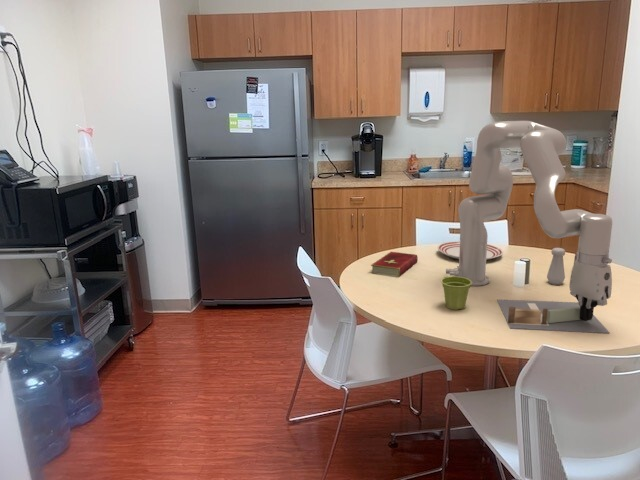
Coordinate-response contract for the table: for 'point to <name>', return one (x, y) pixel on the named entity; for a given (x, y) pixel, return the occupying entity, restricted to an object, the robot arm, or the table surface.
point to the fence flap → (563, 314)
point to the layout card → (569, 326)
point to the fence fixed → (526, 316)
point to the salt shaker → (556, 267)
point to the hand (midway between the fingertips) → (585, 319)
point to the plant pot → (456, 291)
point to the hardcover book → (394, 264)
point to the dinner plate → (454, 250)
